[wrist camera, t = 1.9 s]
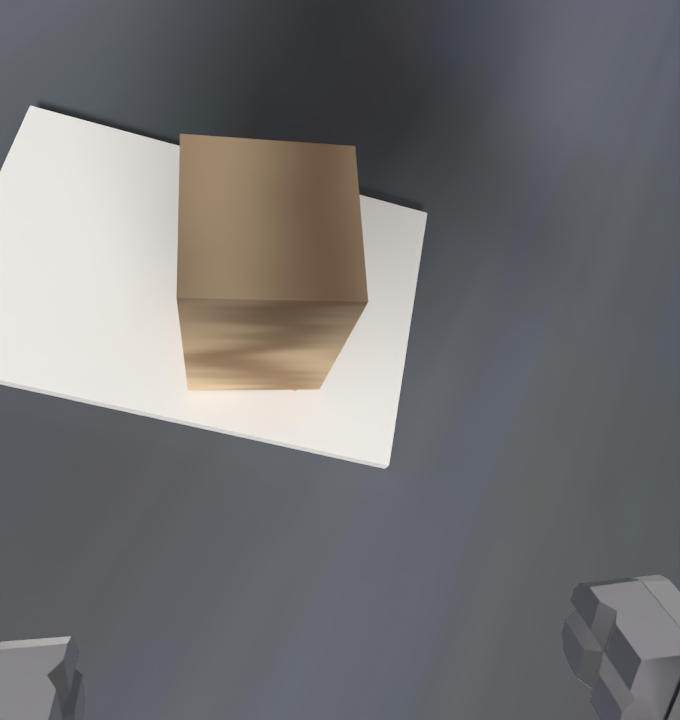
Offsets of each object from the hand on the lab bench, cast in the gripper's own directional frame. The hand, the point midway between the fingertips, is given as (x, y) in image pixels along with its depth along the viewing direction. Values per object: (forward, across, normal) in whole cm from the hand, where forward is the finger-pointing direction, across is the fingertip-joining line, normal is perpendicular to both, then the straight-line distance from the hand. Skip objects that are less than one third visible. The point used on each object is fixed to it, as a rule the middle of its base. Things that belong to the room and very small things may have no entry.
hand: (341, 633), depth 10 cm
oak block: (+21, 0, +3) cm, 21 cm away
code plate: (+23, +3, +2) cm, 24 cm away
